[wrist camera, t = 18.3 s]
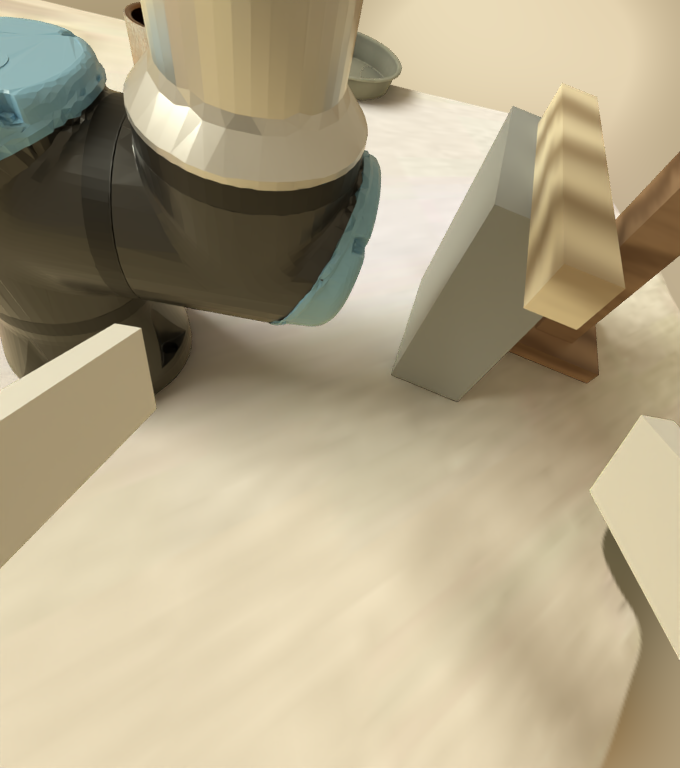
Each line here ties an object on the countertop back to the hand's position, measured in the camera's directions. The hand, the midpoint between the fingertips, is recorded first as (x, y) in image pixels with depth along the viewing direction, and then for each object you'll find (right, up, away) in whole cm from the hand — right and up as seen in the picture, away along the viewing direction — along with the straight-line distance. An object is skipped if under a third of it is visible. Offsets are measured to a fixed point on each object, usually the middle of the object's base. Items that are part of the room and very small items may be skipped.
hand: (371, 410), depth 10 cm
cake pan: (-1, +66, +69) cm, 96 cm away
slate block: (+11, +7, +36) cm, 38 cm away
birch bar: (+14, +13, +16) cm, 25 cm away
